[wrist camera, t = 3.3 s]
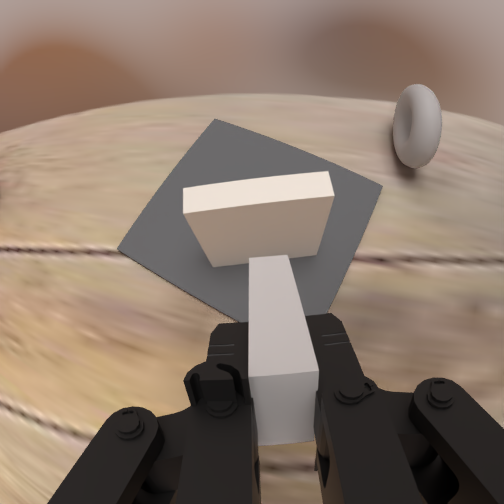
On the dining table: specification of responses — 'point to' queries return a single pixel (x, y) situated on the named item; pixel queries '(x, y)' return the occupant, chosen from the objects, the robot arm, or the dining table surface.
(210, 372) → the robot arm
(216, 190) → the board
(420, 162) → the donut
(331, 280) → the mat
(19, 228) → the dining table surface
